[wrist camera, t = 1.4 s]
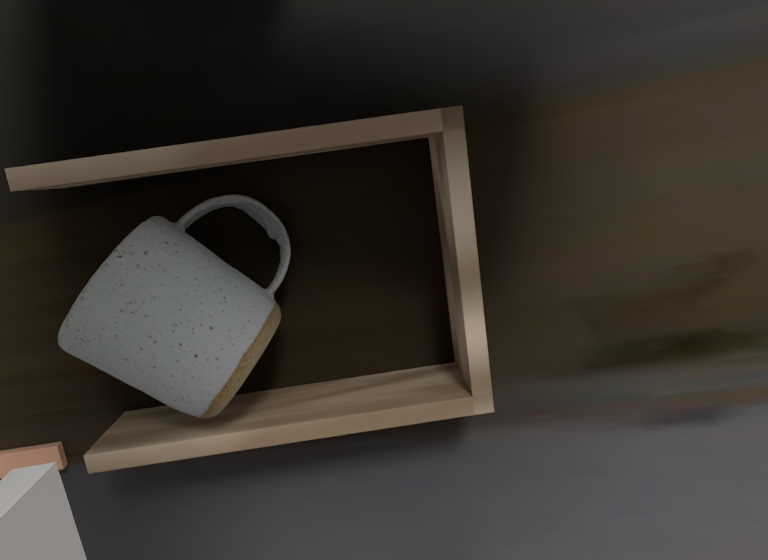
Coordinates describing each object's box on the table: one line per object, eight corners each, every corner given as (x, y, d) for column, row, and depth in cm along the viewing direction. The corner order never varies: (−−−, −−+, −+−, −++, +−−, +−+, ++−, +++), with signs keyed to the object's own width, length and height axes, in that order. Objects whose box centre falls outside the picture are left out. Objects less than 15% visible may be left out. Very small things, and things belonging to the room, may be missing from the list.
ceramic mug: (229, 394, 32) (192, 461, 25) (102, 319, 31) (23, 365, 23) (329, 245, 31) (323, 267, 23) (202, 160, 30) (152, 155, 22)
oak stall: (63, 168, 29) (4, 168, 24) (444, 115, 30) (462, 105, 25) (128, 427, 32) (88, 473, 27) (473, 375, 33) (494, 411, 28)
